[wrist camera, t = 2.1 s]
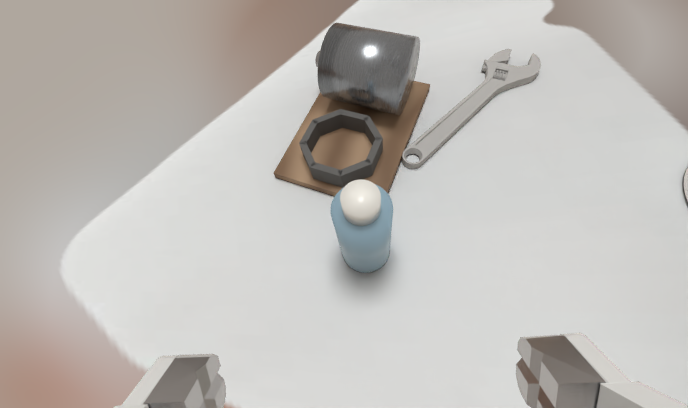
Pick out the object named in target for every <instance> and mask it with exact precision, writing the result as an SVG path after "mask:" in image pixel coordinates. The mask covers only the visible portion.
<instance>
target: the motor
mask: <svg viewBox="0 0 688 408" xmlns="http://www.w3.org/2000/svg"><path fill="white" fill-rule="evenodd" d="M419 51H420V40H419V37H416V36H410V35H404V34H399V33H393V32H387V31H382V30H376V29H370V28H365V27H359V26H353V25H348V24H342V23H335V24H333V25H332V26H331V27H330V28H329V30H328V32H327V33H326V36H325V38H324V40H323V43H322V47H321V51H319V52H318V53H317V56H316V66H317V67H318V85H319V89H320V92H321V94H322V96H323V97H325V98H329V99H333V100H337V101H341V102H345V103H350V104H354V105H358V106H362V107H366V108H370V109H375V110H379V111H383V112H387V113H391V114H395V115H400V114H401V113H402V111H403V110H404V108H405V105H406V103H407V101H408V98H409V95H410V92H411V89H412V85H413V82H414V78H415V74H416V69H417V64H418V58H419Z"/></svg>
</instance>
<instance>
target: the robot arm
mask: <svg viewBox="0 0 688 408" xmlns="http://www.w3.org/2000/svg"><path fill="white" fill-rule="evenodd" d="M684 191H685V195H686V198H687V201H688V168H687V170H686V172H685V176H684ZM517 350H518V352H519V354H520V355H521V357H522V358H521V359H520V361H519V362H518V363H517V364H516V378H517V383H518V387H519V390H520V392H521V395H522V397H523V399H524V400H525V402H526V404H527V405H529V406H530V407H531V408H688V406H687V405H685V404H683V403H681V402H679V401H677V400H675V399H673V398H671V397H669V396H667V395H665V394H663V393H661V392H659V391H657V390H655V389H653V388H651V387H649V386H647V385H645V384H643V383H641V382H631V381H630V380H629V379H628V378H627V377H626V376H625V375H624V373H623V372H622V371H621V370H620V369H619V368H618V367H617V366H616V365H615V364H614V363H613V362H612V361H611V360H610V359H609V358H608V357H607V356H606V355H605V354H604V353H603V352H602V351H601V350H600V349H599V348H598V347H597V346H596V345H595V344H594V343H593V342H592V341H591V340H590V339H589V338H588V337H587V336H586V335H584V334H582V333H572V334H560V335H550V336H534V337H520V339H519V341H518V348H517ZM220 366H221V365H220V362H219V358H218V356H217V355H215V354H197V355H174V356H162V357H160V358H158V359H157V360H156V361H155V362H154V364H153V365H152V366H151V367H150V369H149V370H148V371H147V373H146V374H145V375H144V377H143V378H142V379H141V380H140V382H139V383H138V385H137V386H136V387H135V388H134V390H133V391H132V392H131V393H130V395H129V396H128V397H127V399H126V400H125V401H124V403H123V404H122V405H121V406H115V407H113V408H223V407H224V403H225V397H226V386H225V382H224V379H223V378H222V377H221V376H220V375H219V374H218V373H217V372H218V370H219V368H220Z"/></svg>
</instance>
